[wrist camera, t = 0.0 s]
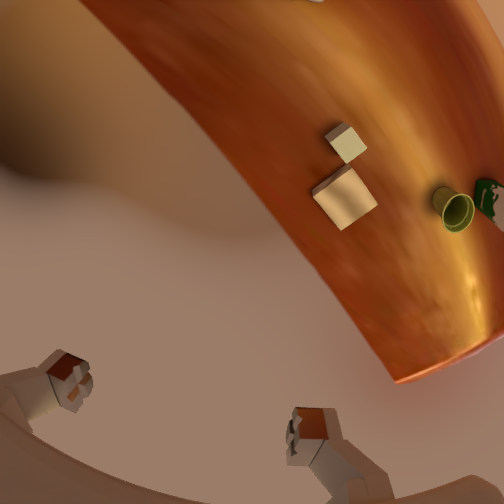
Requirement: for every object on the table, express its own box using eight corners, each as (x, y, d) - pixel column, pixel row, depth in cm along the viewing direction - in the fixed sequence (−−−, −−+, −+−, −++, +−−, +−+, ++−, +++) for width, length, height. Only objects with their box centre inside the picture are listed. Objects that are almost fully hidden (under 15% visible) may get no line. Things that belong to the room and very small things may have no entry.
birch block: (347, 162, 54) (352, 167, 50) (372, 197, 57) (377, 204, 54) (311, 190, 58) (312, 196, 55) (337, 222, 61) (340, 230, 58)
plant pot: (421, 211, 57) (436, 229, 49) (433, 175, 51) (451, 189, 44) (448, 219, 56) (465, 236, 49) (461, 185, 51) (479, 199, 44)
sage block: (343, 122, 49) (351, 126, 43) (357, 141, 50) (367, 148, 45) (324, 136, 51) (329, 142, 45) (339, 155, 53) (346, 163, 47)
